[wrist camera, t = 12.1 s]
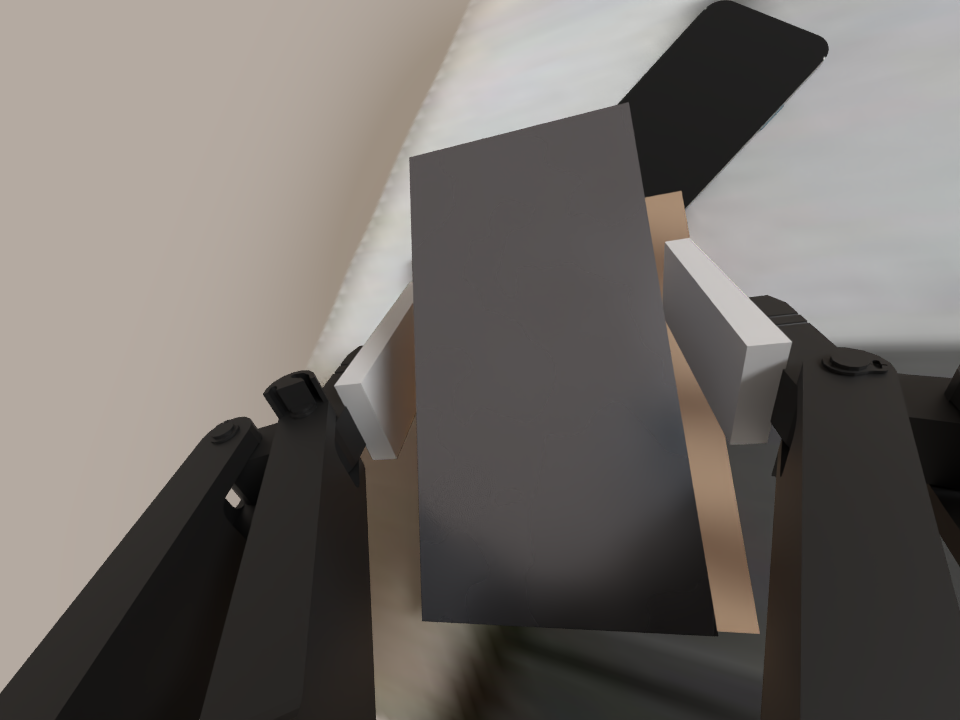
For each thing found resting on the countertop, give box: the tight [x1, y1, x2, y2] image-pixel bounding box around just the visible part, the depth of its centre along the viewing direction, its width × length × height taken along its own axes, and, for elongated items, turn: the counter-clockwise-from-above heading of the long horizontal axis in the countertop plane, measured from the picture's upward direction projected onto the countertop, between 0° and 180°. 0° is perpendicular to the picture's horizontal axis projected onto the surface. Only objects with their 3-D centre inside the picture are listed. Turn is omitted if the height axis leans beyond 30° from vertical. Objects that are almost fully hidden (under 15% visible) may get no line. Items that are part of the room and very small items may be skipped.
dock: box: [645, 191, 760, 634], centre depth 19 cm, size 20×14×4 cm
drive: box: [409, 102, 718, 636], centre depth 13 cm, size 10×5×12 cm, turn 3°
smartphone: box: [618, 0, 829, 210], centre depth 22 cm, size 7×1×15 cm
